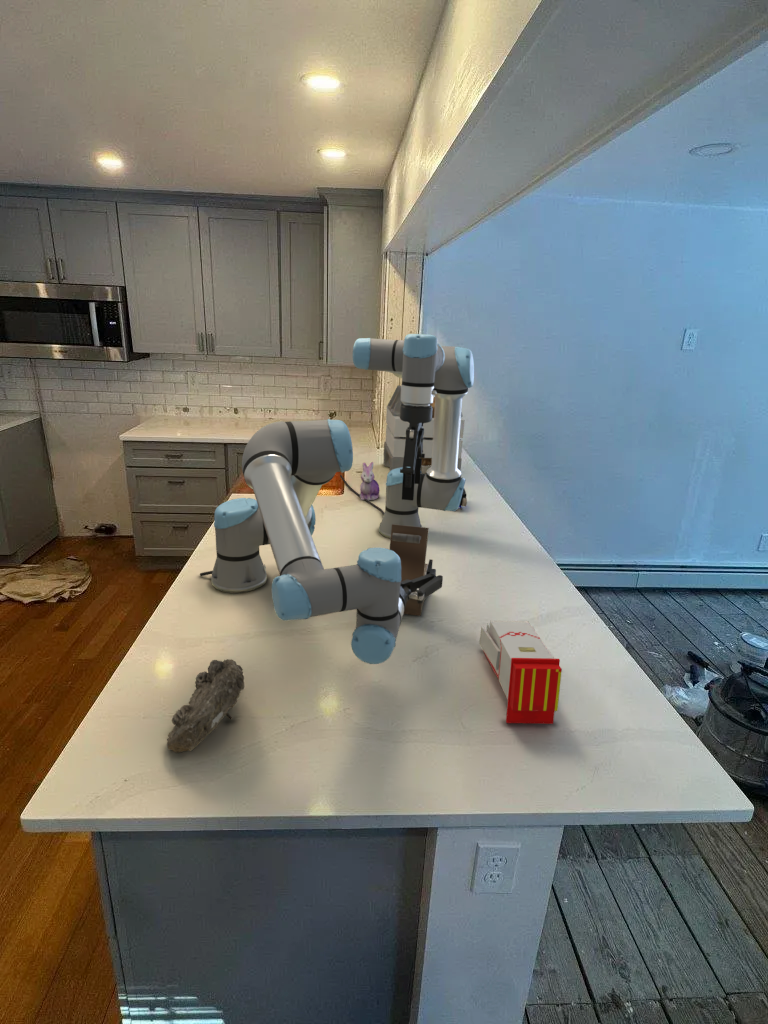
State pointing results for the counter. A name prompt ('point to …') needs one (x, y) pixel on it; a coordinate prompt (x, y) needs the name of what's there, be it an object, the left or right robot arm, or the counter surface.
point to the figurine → (368, 484)
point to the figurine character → (463, 500)
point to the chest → (414, 603)
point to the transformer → (397, 435)
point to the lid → (410, 549)
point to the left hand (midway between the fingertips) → (401, 561)
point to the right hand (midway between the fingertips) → (411, 491)
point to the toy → (523, 670)
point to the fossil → (206, 705)
